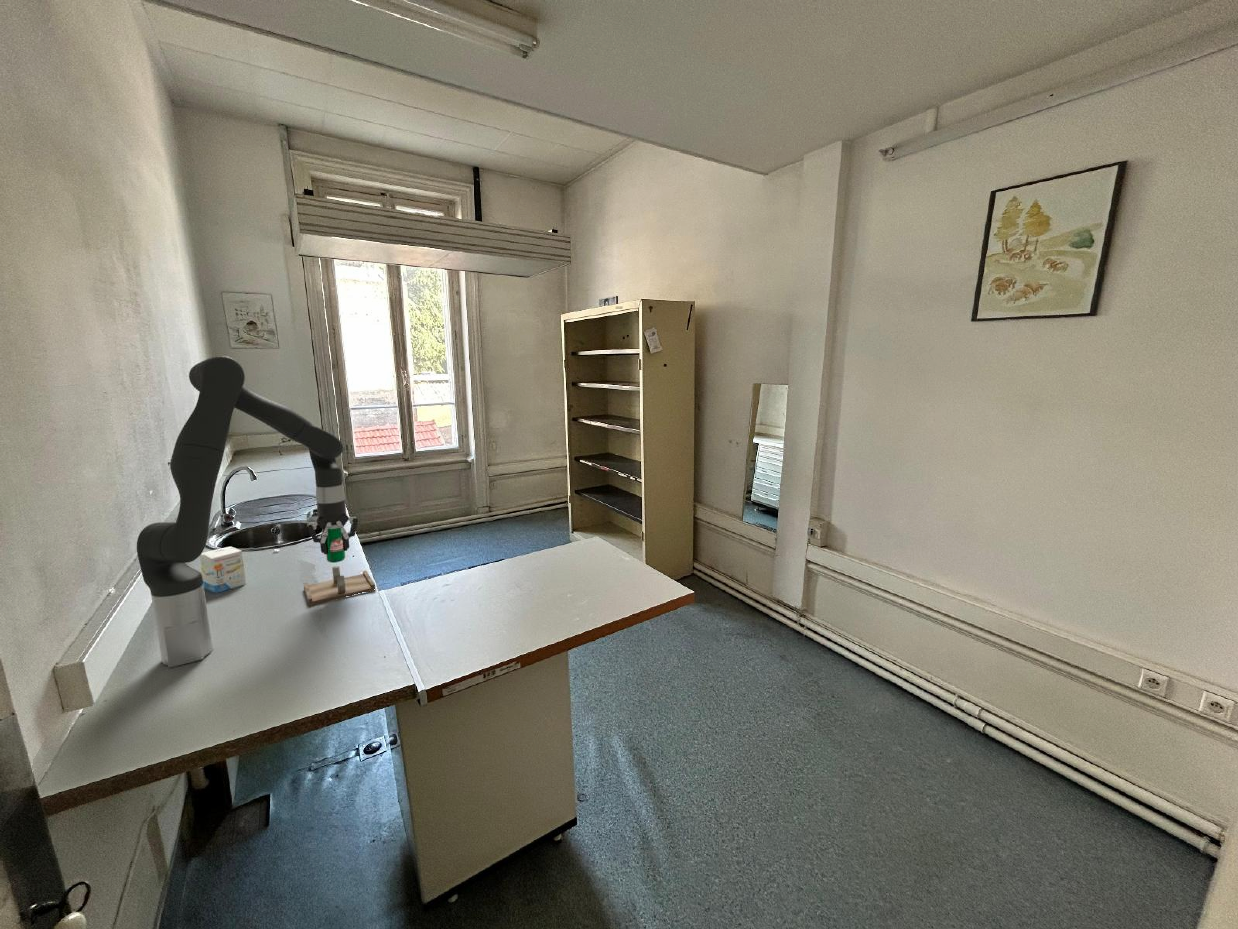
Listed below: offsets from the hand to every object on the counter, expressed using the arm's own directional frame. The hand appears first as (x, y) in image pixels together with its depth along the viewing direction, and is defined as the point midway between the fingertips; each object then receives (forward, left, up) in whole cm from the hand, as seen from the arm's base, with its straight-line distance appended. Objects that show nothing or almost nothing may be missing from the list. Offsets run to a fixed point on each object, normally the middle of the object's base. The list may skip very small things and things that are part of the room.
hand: (335, 551), depth 152 cm
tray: (0, 0, -13) cm, 13 cm away
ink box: (+25, +29, -13) cm, 40 cm away
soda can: (0, 0, -3) cm, 3 cm away
